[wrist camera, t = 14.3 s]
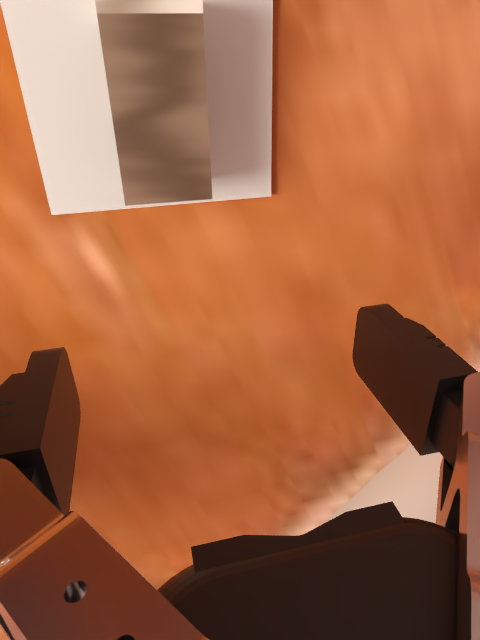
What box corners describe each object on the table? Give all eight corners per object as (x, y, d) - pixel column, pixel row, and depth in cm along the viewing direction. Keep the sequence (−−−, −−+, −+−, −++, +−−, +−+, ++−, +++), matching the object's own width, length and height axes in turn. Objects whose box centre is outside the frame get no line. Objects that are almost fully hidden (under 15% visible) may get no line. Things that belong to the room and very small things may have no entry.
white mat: (52, 212, 30) (51, 214, 29) (-6, -33, 23) (-9, -35, 23) (268, 194, 33) (271, 196, 32) (270, -30, 26) (273, -32, 26)
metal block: (125, 205, 25) (92, -14, 20) (125, 185, 29) (98, 0, 25) (212, 198, 26) (201, -13, 21) (200, 180, 30) (189, 0, 25)
